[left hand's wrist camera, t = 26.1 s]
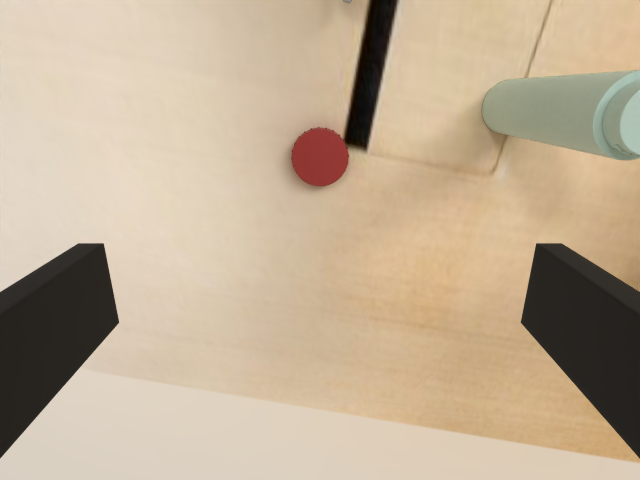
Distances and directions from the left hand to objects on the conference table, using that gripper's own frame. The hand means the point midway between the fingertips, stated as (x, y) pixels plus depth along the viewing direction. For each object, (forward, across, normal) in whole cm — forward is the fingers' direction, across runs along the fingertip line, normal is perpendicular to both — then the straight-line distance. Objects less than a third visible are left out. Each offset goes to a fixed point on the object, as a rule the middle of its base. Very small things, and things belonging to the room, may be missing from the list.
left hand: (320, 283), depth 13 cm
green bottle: (+29, +18, +4) cm, 34 cm away
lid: (+27, 0, 0) cm, 27 cm away
